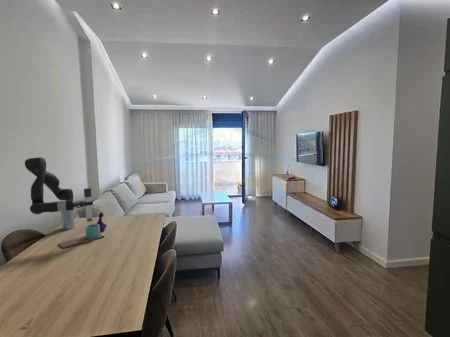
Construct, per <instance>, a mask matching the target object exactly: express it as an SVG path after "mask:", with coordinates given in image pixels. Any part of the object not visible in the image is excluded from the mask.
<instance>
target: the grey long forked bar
mask: <svg viewBox="0 0 450 337" xmlns="http://www.w3.org/2000/svg"><path fill="white" fill-rule="evenodd" d="M83 195H84V196H83V197H84V201H85V202H91V201H92V188H91V187H89V188H88V187H87V188H83ZM85 218H86V222H92V221H93V205H87V206H86V207H85Z"/></svg>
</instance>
